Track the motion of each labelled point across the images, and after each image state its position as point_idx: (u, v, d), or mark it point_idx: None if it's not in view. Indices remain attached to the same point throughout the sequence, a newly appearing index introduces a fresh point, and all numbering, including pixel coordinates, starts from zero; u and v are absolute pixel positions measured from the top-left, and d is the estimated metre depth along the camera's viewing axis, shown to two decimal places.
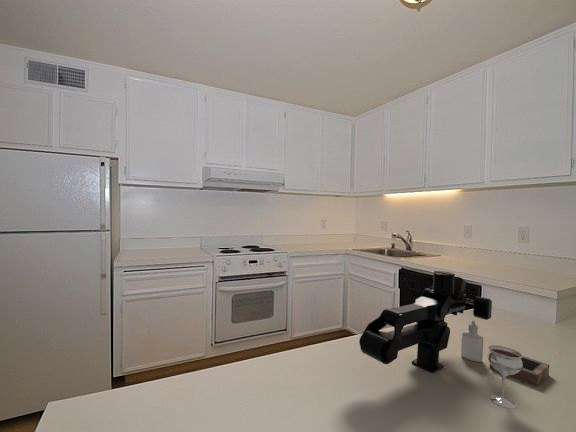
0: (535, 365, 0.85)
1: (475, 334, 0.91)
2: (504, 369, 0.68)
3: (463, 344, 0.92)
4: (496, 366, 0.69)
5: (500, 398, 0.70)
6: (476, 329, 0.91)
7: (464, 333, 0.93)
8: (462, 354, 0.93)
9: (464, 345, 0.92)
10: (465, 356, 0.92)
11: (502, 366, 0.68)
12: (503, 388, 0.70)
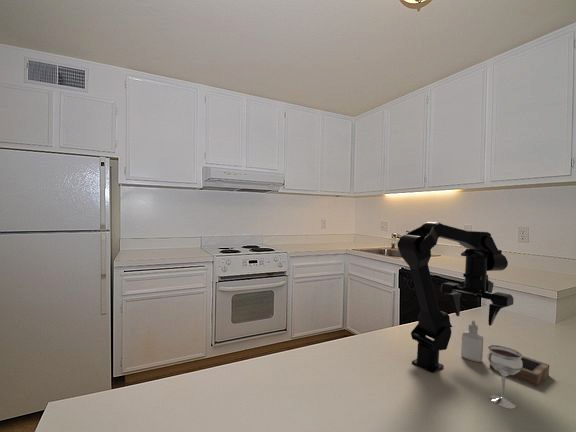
0: (535, 365, 0.85)
1: (475, 334, 0.91)
2: (504, 369, 0.68)
3: (463, 344, 0.92)
4: (496, 366, 0.69)
5: (500, 398, 0.70)
6: (476, 329, 0.91)
7: (464, 333, 0.93)
8: (462, 354, 0.93)
9: (464, 345, 0.92)
10: (465, 356, 0.92)
11: (502, 366, 0.68)
12: (503, 388, 0.70)
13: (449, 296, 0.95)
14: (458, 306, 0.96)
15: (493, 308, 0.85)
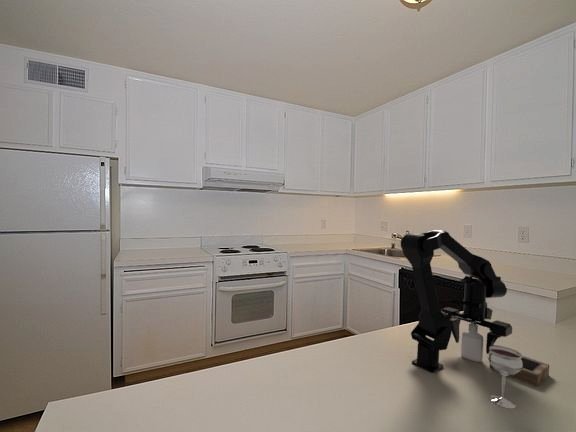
0: (535, 365, 0.85)
1: (475, 334, 0.91)
2: (504, 369, 0.68)
3: (463, 344, 0.92)
4: (496, 366, 0.69)
5: (500, 398, 0.70)
6: (476, 329, 0.91)
7: (464, 333, 0.93)
8: (462, 354, 0.93)
9: (464, 345, 0.92)
10: (465, 356, 0.92)
11: (502, 366, 0.68)
12: (503, 388, 0.70)
13: None
14: (457, 332, 0.96)
15: (491, 337, 0.85)
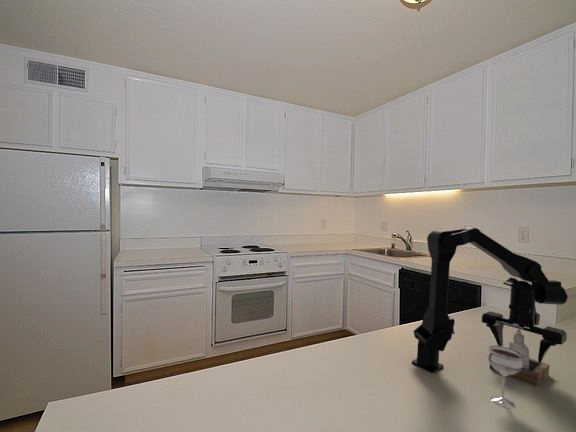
0: (535, 365, 0.85)
1: (516, 344, 0.85)
2: (504, 369, 0.68)
3: None
4: (496, 366, 0.69)
5: (500, 398, 0.70)
6: (519, 339, 0.85)
7: (510, 341, 0.88)
8: None
9: None
10: None
11: (502, 366, 0.68)
12: (503, 388, 0.70)
13: (492, 328, 0.89)
14: (501, 338, 0.89)
15: (545, 345, 0.79)
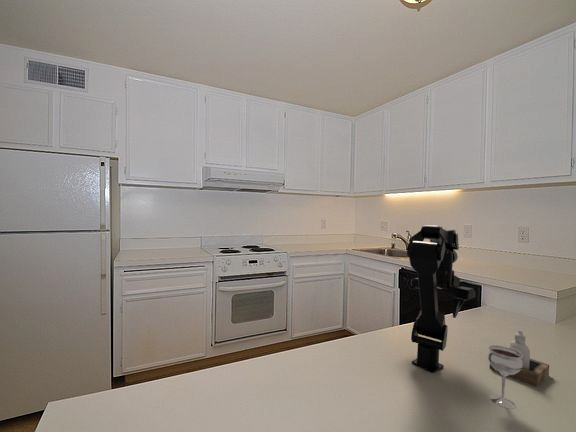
0: (535, 365, 0.85)
1: (518, 344, 0.85)
2: (504, 369, 0.68)
3: None
4: (496, 366, 0.69)
5: (500, 398, 0.70)
6: (520, 339, 0.85)
7: (511, 342, 0.88)
8: None
9: None
10: None
11: (502, 366, 0.68)
12: (503, 388, 0.70)
13: (418, 290, 1.01)
14: None
15: (456, 301, 0.91)
